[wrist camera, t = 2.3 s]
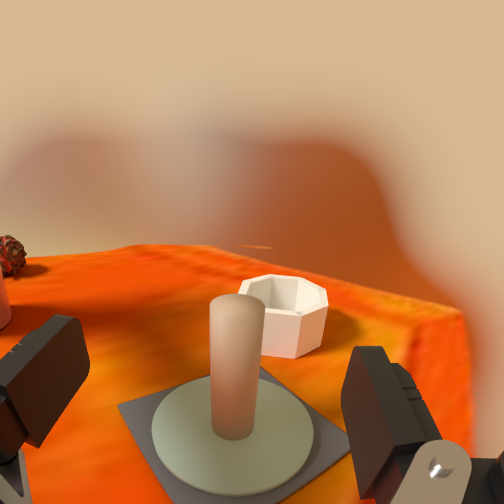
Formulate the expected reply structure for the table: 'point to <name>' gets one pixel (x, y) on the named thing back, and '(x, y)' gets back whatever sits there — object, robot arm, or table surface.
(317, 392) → the table surface
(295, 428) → the lid
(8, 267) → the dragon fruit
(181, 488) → the mat
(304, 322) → the bowl
